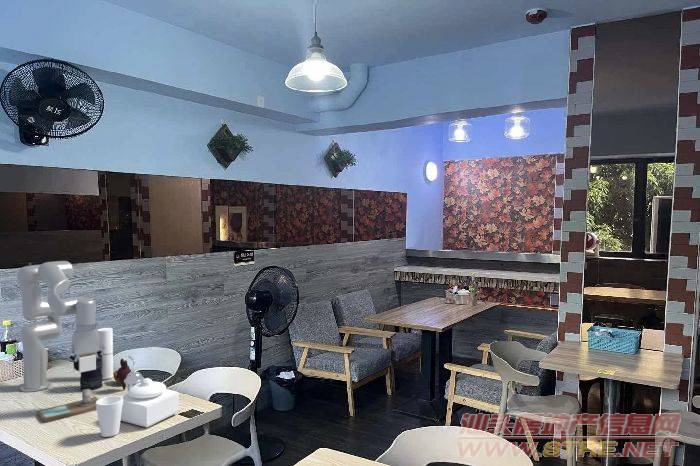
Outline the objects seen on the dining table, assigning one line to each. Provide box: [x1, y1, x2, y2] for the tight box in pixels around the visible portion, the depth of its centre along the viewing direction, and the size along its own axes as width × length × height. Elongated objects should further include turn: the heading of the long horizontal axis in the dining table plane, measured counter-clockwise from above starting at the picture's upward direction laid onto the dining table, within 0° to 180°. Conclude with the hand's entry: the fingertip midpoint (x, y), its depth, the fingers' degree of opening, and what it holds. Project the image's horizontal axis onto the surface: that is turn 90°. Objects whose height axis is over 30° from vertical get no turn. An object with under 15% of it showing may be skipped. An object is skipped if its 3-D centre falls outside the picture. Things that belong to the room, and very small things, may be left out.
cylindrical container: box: [97, 327, 114, 380], centre depth 252 cm, size 7×7×25 cm
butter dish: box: [120, 377, 180, 428], centre depth 205 cm, size 18×18×16 cm
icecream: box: [116, 358, 132, 391], centre depth 233 cm, size 7×7×15 cm
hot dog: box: [113, 370, 122, 386], centre depth 244 cm, size 5×13×5 cm, turn 42°
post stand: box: [36, 389, 99, 424], centre depth 209 cm, size 12×23×8 cm, turn 135°
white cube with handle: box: [77, 353, 96, 373], centre depth 212 cm, size 6×6×7 cm
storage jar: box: [79, 355, 104, 391], centre depth 237 cm, size 10×10×15 cm
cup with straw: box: [124, 355, 145, 394], centre depth 219 cm, size 8×9×20 cm
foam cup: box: [95, 395, 123, 438], centre depth 188 cm, size 10×9×13 cm
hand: (85, 367), depth 212 cm, fingers closed on white cube with handle, 6 cm apart
